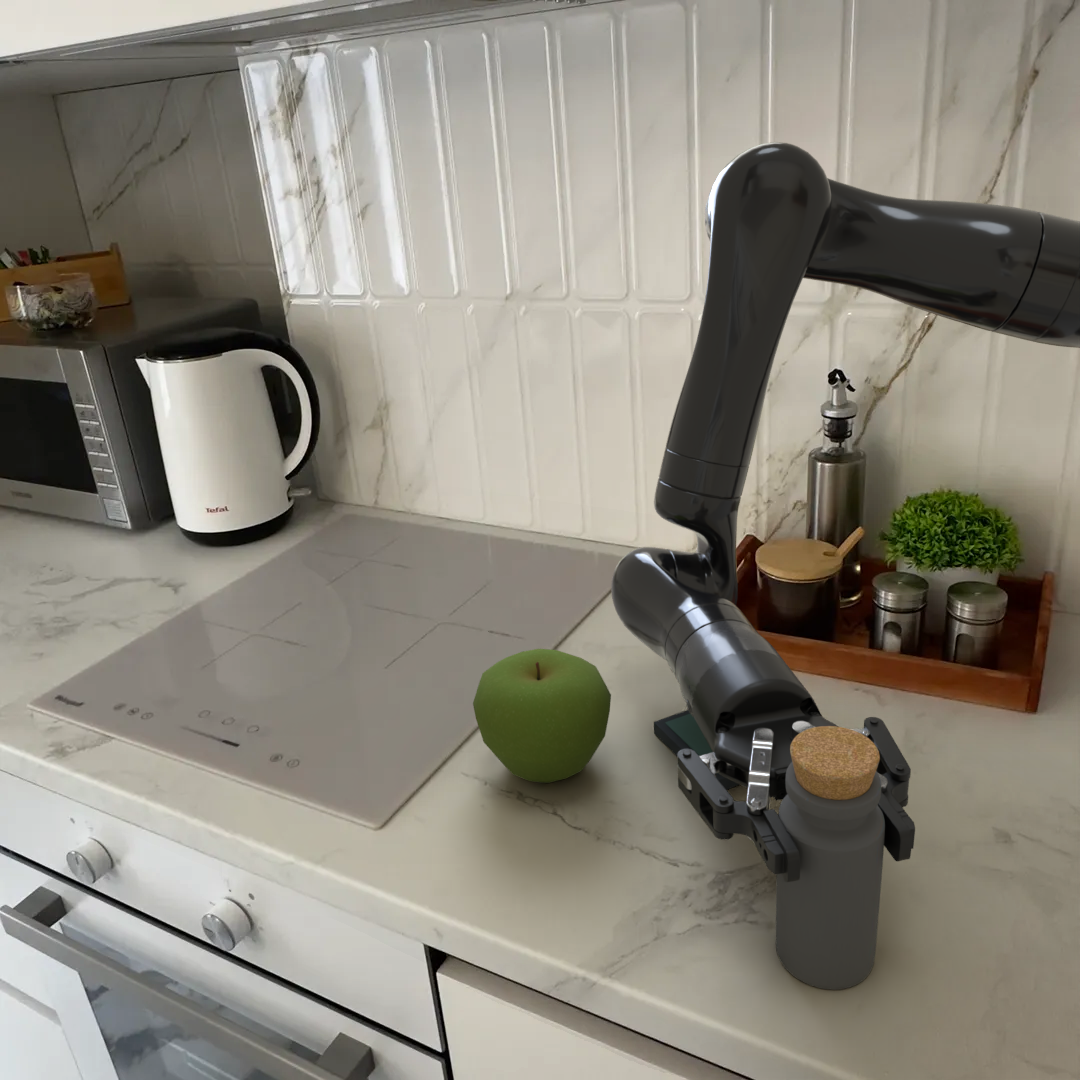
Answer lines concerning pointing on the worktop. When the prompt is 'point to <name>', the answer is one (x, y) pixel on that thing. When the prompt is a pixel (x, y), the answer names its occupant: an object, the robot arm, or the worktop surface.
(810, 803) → the bottle
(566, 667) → the apple
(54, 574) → the worktop surface
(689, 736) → the teal square coaster
